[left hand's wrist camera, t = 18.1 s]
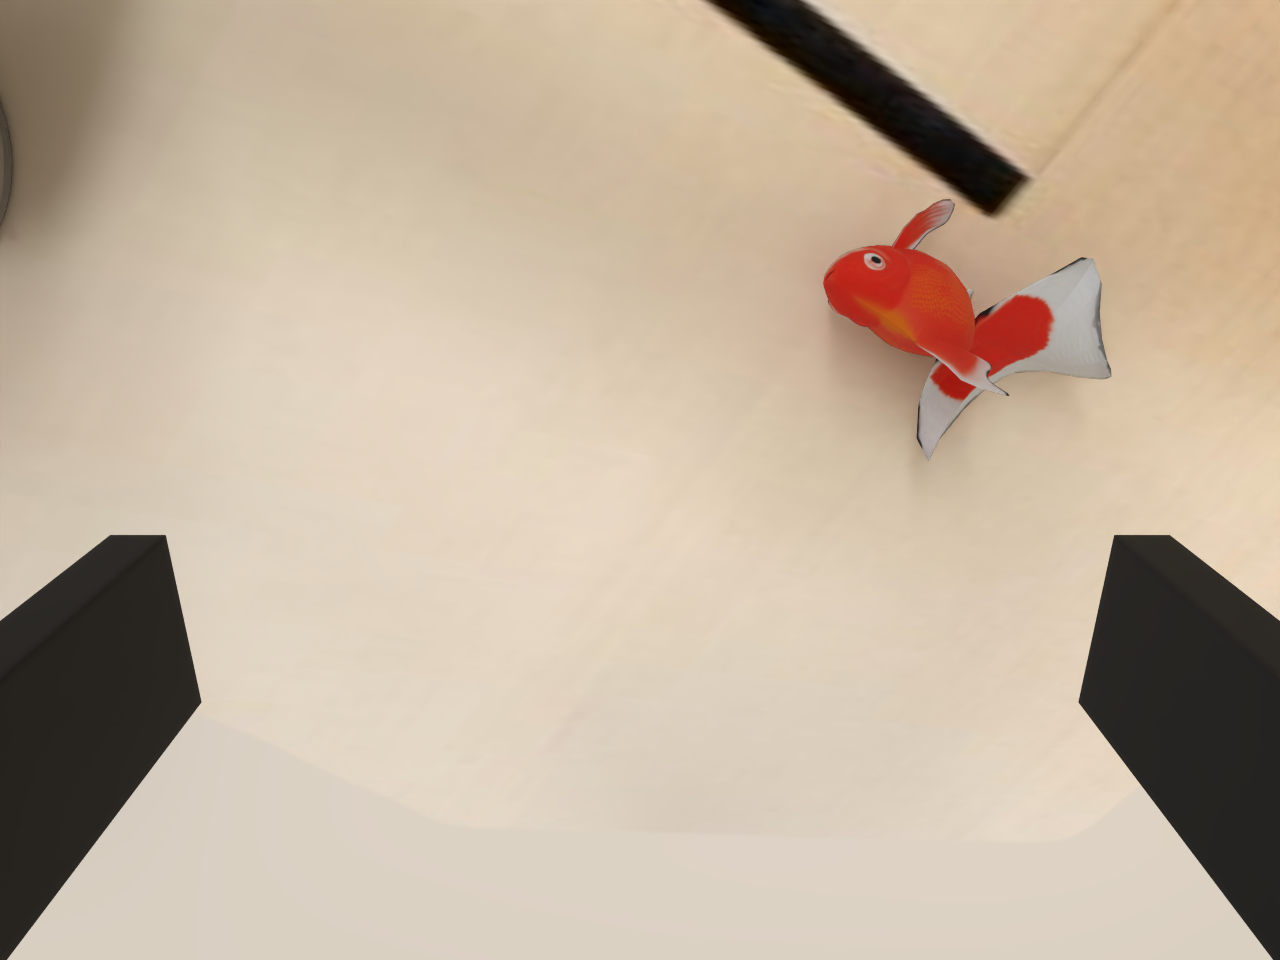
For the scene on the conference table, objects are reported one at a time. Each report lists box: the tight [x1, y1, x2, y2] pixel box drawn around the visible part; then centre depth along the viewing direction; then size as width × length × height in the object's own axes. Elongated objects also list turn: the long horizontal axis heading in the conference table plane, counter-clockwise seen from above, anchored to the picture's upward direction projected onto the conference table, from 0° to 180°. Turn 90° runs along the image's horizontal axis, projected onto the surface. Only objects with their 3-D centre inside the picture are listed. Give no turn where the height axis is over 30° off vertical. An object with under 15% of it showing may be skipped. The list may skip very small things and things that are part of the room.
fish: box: [823, 199, 1111, 461], centre depth 42 cm, size 11×16×10 cm
